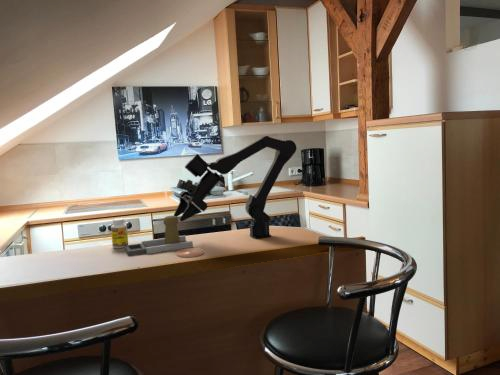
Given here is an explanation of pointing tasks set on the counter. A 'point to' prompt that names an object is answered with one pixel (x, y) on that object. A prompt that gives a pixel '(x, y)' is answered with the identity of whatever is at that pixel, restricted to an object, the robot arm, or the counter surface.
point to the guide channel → (165, 247)
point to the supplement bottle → (119, 233)
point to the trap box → (135, 249)
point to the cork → (171, 230)
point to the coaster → (190, 252)
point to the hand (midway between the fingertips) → (177, 218)
